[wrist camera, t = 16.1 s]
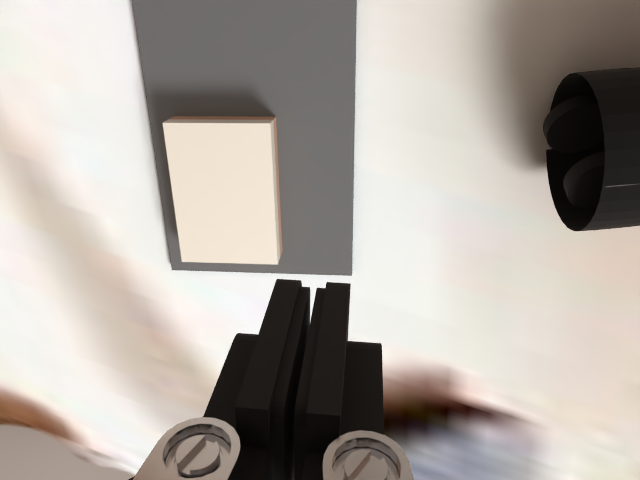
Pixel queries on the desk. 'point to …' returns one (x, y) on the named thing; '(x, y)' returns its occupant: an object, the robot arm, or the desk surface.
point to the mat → (264, 108)
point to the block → (225, 188)
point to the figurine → (595, 149)
